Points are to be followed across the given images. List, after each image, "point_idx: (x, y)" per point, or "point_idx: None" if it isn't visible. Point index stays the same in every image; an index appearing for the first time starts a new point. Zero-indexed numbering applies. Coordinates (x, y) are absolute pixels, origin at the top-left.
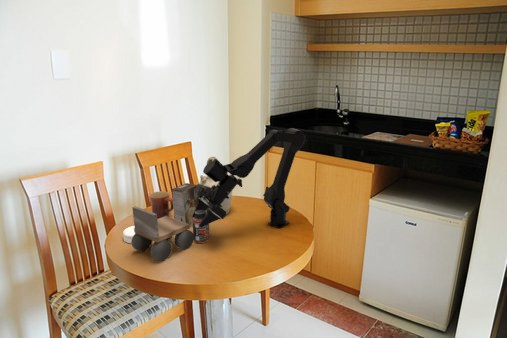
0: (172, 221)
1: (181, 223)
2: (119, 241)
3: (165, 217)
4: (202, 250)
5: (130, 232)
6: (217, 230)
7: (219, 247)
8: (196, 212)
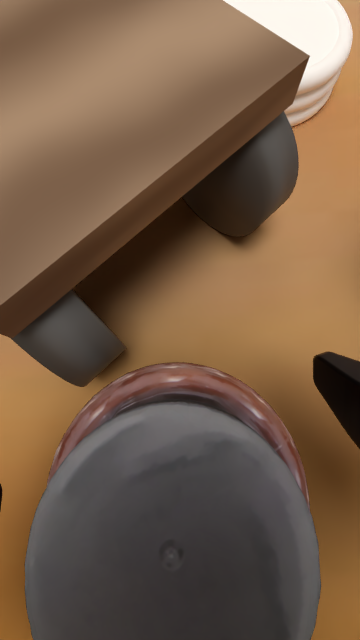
0: (128, 127)
1: (37, 224)
2: None
3: (258, 55)
4: (13, 451)
5: (242, 4)
6: (351, 589)
7: (22, 598)
8: (135, 451)
